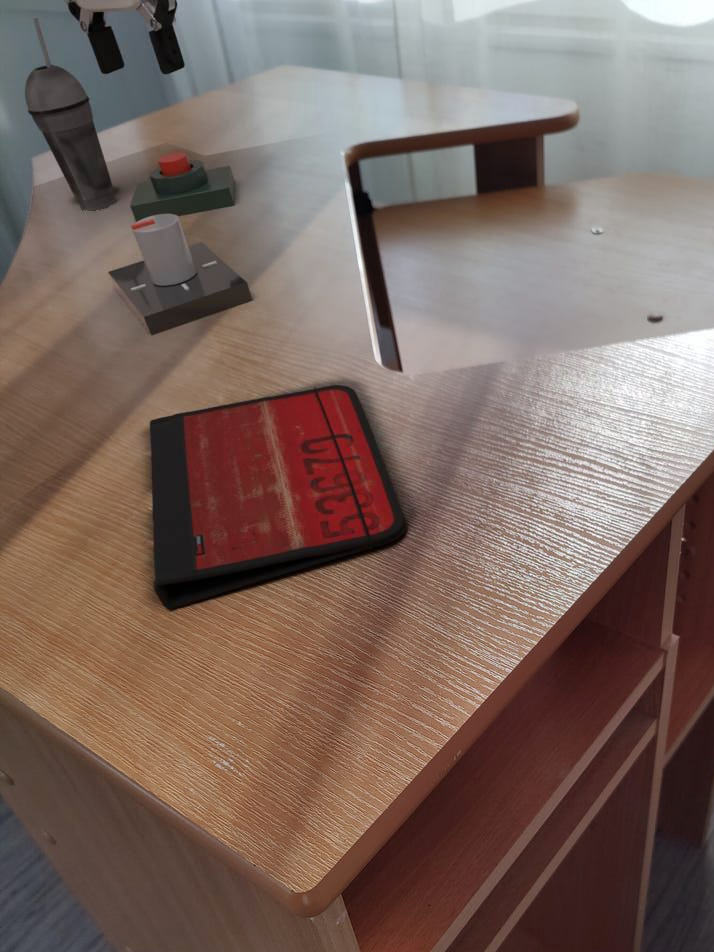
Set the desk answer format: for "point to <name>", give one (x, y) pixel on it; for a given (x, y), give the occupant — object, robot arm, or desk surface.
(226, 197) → the button box
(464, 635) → the desk surface
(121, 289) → the panel
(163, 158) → the button
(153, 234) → the hob knob
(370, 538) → the binder
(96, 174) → the beverage cup
